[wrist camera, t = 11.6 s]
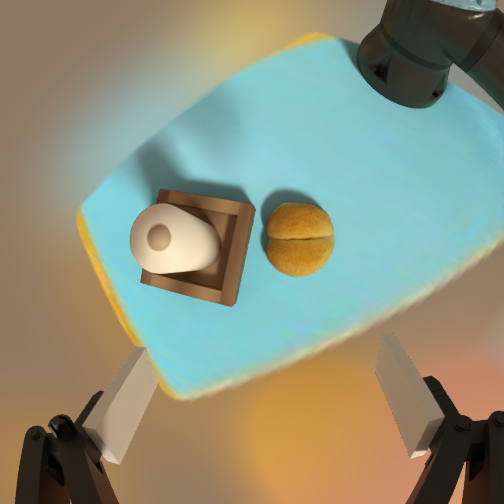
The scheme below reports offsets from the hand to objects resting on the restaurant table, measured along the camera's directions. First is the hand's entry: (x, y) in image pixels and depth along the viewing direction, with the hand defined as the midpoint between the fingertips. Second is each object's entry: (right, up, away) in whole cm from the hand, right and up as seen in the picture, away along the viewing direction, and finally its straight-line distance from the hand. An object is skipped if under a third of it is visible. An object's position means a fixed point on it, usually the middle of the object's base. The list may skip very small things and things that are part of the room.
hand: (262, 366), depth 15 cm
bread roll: (+5, +8, +21) cm, 23 cm away
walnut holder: (-7, +7, +22) cm, 24 cm away
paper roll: (-7, +7, +21) cm, 23 cm away
